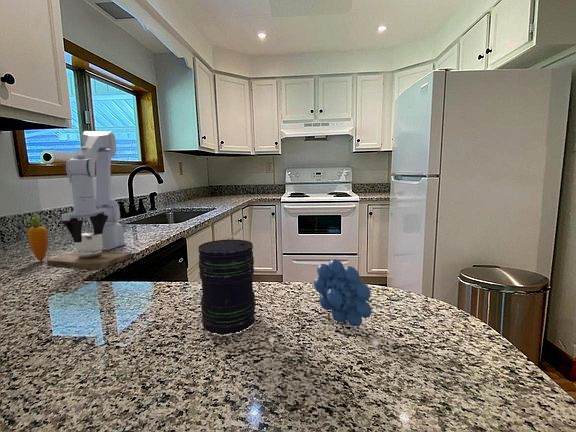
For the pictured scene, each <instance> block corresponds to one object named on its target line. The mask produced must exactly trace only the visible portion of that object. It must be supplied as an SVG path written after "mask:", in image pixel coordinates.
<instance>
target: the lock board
mask: <svg viewBox="0 0 576 432" xmlns="http://www.w3.org/2000/svg"><path fill="white" fill-rule="evenodd" d="M132 257H133V256H132V252H123V251H111V250H110V251H109V250H102V255H100V256H97V257H93V258H79V257H78V251H75V252H72V253H67V254H65V255H60V256H57V257H54V258H53V257H52V258H49V259H47V260H46V264H47V265H48V266H57V267H66V268H77V267H79V269H80V268H81V269H88V268H93V269H92V270H101V269H104V268H106V267H109V266H111V265H114V264H117V263H121V262H122V261H123V262H124V261H125V260H129V259H131V258H132ZM100 268H101V269H100Z"/></svg>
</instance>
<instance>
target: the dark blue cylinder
mask: <svg viewBox="0 0 576 432" xmlns="http://www.w3.org/2000/svg"><path fill="white" fill-rule="evenodd" d="M253 244H254V243H252V242H251V241H249V240H245V239H229V238H228V239H219V240H217V239H216V240H211V241H207V242H204V243H201V244H200V245H198V253H199V254H198V269H199V273H198V274H199V278H200V280H201V293H202V294H201V295H202V296H201V297H200V305H201V307H200V309H201V310H200V311H201V313H200V314H201V318H202V328H203V327H204V328H205V329H206V330H207V331H209V332H211V333H217V334H229V333H236V332H240V331H242V330H244V329H246V328H248V327H249V326H251V325H252V324H253V323H254V321H255V322H256V317H255V312H256V295H255V291H254V288H253V287H254V286H253V283H254V281H253V280H254V279H253V275H254V274H255V272H254V271H255V267H254V266H255V265H254V264H255V261H254V260H255V257H254V251H253V249H254V245H253ZM254 324H255V323H254Z"/></svg>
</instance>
